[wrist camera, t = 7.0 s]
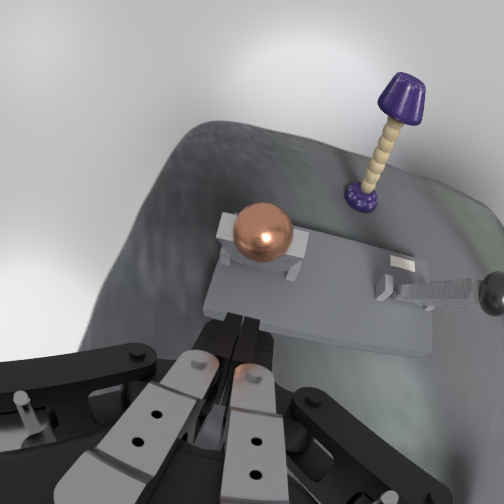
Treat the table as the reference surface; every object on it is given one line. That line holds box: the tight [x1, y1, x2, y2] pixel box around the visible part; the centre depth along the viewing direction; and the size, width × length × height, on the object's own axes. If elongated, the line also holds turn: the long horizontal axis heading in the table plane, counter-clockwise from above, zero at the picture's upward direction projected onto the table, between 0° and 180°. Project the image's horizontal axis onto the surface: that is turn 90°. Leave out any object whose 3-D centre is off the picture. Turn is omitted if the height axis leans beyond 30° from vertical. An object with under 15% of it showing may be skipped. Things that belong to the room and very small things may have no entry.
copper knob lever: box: [216, 202, 309, 274], centre depth 18 cm, size 3×4×13 cm, turn 77°
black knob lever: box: [389, 271, 504, 316], centre depth 17 cm, size 3×4×13 cm, turn 77°
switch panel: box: [203, 212, 435, 358], centre depth 24 cm, size 10×21×4 cm, turn 77°
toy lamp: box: [345, 72, 426, 213], centre depth 26 cm, size 5×5×17 cm
